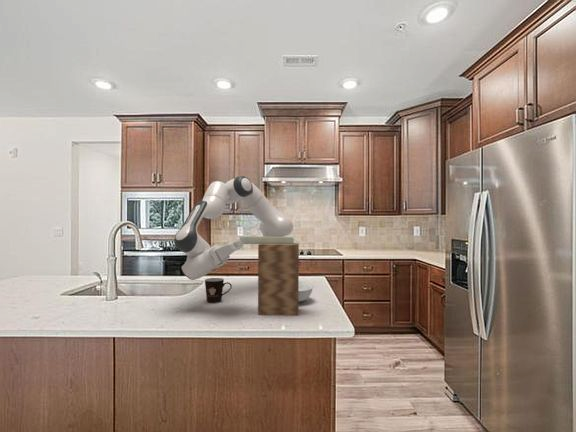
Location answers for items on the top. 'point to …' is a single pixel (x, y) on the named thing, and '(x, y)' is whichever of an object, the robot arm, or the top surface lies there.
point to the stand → (278, 279)
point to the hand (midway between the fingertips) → (247, 238)
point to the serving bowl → (304, 291)
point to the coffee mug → (215, 289)
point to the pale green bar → (268, 240)
